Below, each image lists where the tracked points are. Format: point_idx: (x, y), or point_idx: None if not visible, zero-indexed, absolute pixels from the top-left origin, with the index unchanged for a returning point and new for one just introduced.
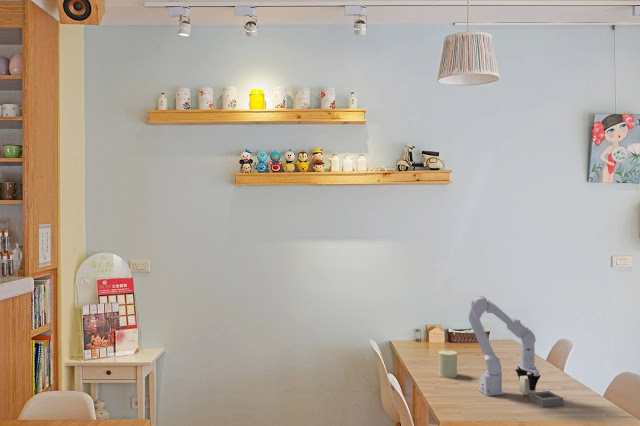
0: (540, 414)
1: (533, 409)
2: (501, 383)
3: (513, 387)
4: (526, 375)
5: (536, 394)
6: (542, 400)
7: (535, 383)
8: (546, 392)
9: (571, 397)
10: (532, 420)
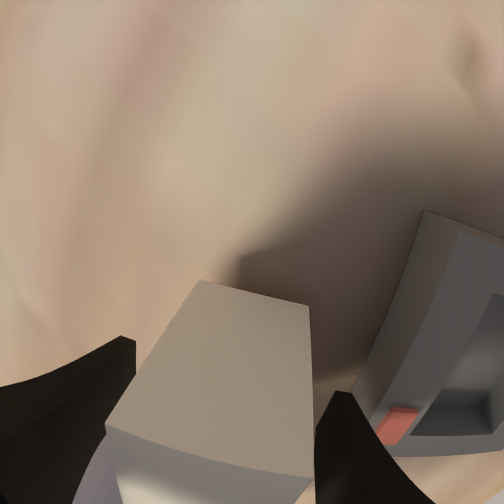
0: (499, 464)
1: (455, 465)
2: (119, 497)
3: (35, 271)
4: (60, 406)
5: (415, 420)
6: (500, 448)
7: (373, 461)
8: (471, 309)
9: (500, 11)
10: (486, 500)
